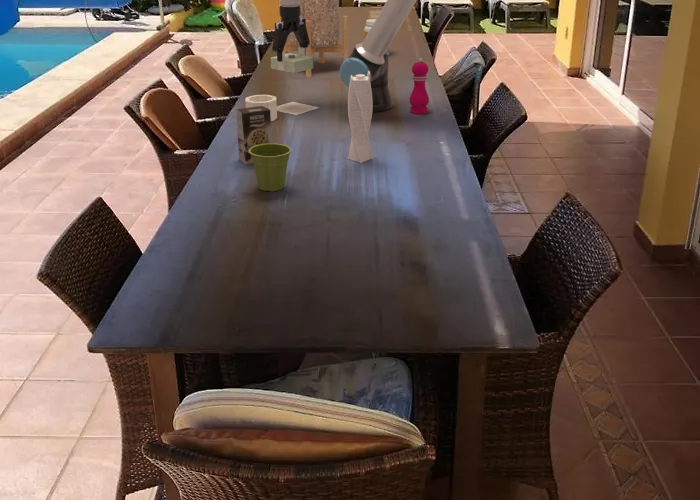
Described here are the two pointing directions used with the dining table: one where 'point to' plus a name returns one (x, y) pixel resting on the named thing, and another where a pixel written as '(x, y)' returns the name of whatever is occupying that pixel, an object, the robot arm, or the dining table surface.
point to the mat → (295, 108)
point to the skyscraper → (360, 117)
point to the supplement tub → (368, 27)
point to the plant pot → (270, 165)
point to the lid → (294, 63)
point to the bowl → (263, 103)
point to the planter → (321, 29)
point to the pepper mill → (419, 88)
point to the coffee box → (252, 130)
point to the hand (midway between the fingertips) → (292, 67)
